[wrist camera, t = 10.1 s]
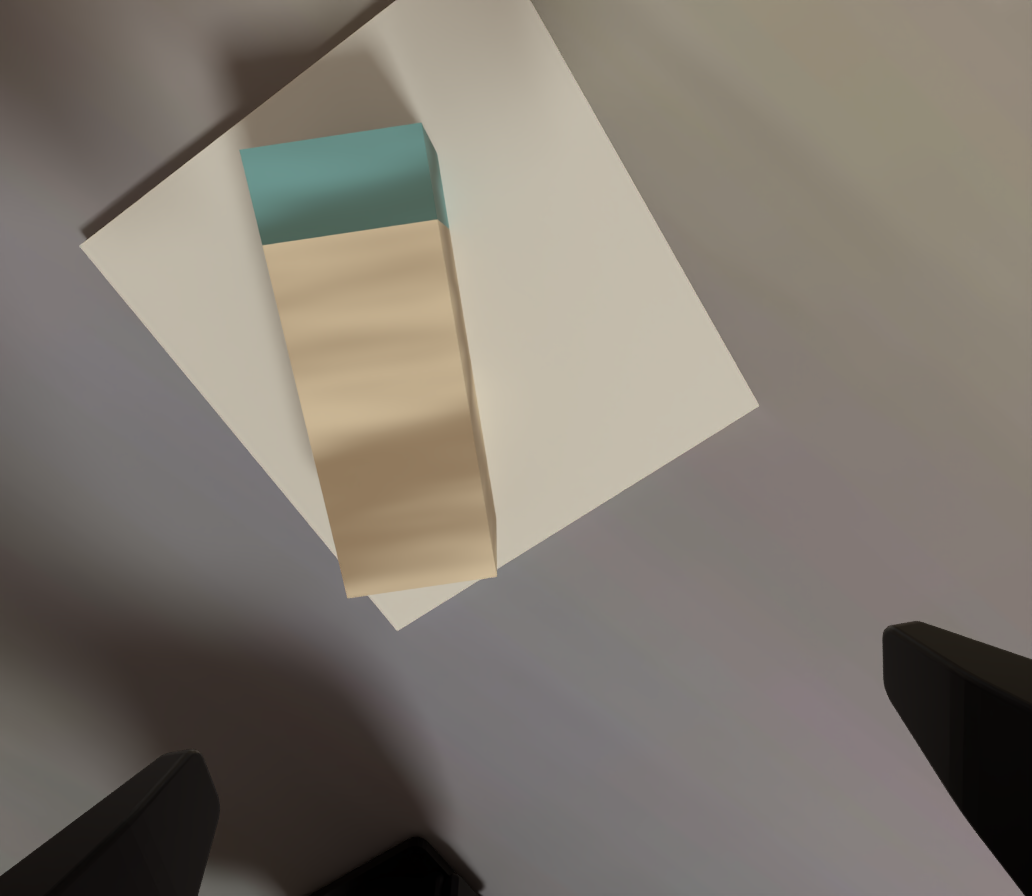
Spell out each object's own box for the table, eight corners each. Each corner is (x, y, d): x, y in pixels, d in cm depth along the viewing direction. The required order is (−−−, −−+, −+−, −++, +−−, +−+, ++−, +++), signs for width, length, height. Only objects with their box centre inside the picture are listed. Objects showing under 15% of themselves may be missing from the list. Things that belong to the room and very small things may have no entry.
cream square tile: (399, 621, 22) (397, 631, 22) (92, 246, 19) (78, 245, 18) (752, 402, 21) (759, 406, 20) (489, -61, 17) (489, -73, 16)
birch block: (496, 576, 17) (421, 122, 14) (347, 598, 17) (239, 150, 14) (496, 519, 21) (437, 153, 18) (374, 536, 21) (294, 174, 18)
